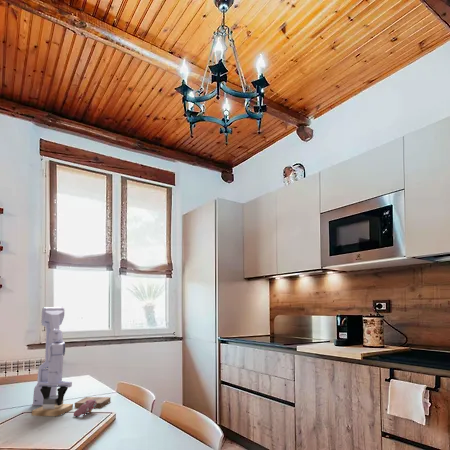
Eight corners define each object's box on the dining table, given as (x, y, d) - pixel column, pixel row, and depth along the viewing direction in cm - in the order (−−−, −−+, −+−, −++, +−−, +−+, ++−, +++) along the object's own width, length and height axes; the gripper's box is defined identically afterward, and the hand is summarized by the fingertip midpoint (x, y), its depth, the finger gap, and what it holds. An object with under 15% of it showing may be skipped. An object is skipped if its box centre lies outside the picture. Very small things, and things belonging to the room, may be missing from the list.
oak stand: (31, 415, 171) (32, 410, 171) (46, 408, 183) (46, 403, 183) (59, 416, 170) (60, 410, 171) (72, 408, 182) (72, 404, 182)
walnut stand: (74, 407, 184) (74, 402, 184) (85, 401, 196) (85, 397, 196) (100, 407, 183) (101, 403, 183) (110, 401, 195) (110, 397, 195)
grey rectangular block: (42, 409, 173) (43, 399, 174) (51, 404, 181) (52, 395, 182) (54, 409, 173) (54, 399, 174) (63, 405, 181) (63, 395, 181)
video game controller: (80, 421, 167) (88, 405, 168) (71, 415, 168) (79, 399, 169) (93, 415, 177) (100, 400, 177) (84, 410, 178) (92, 394, 179)
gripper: (34, 373, 176) (31, 407, 174) (67, 373, 175) (65, 407, 173) (42, 370, 183) (40, 403, 181) (74, 370, 182) (72, 403, 180)
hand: (53, 404), depth 177 cm, fingers closed on grey rectangular block, 5 cm apart
